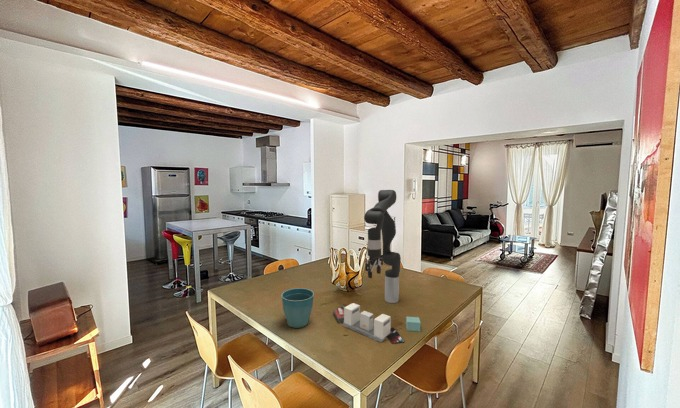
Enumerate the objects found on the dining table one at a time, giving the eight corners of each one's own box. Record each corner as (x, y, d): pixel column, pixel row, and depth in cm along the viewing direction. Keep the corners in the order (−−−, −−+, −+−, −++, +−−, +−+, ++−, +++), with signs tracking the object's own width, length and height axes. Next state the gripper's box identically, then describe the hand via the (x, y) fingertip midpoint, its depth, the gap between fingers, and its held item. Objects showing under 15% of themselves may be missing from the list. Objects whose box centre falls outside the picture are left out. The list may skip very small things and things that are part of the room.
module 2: (382, 329, 153) (382, 313, 153) (390, 333, 150) (390, 316, 149) (373, 335, 147) (374, 319, 147) (382, 339, 144) (382, 322, 143)
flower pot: (299, 312, 176) (298, 285, 174) (320, 321, 164) (320, 293, 163) (275, 323, 162) (274, 294, 160) (297, 335, 150) (296, 303, 149)
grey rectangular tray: (353, 319, 167) (353, 316, 167) (391, 334, 151) (391, 331, 151) (342, 325, 160) (342, 323, 159) (381, 342, 143) (381, 339, 143)
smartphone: (393, 327, 158) (405, 341, 143) (393, 328, 158) (405, 343, 144) (381, 328, 157) (392, 343, 142) (381, 329, 157) (392, 345, 142)
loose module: (364, 324, 159) (364, 310, 158) (373, 328, 155) (373, 314, 154) (359, 327, 156) (359, 313, 155) (369, 331, 152) (369, 316, 151)
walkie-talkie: (352, 322, 164) (343, 306, 183) (352, 315, 163) (343, 300, 182) (338, 325, 161) (330, 308, 181) (338, 317, 161) (330, 301, 180)
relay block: (405, 325, 161) (418, 325, 160) (407, 330, 155) (420, 331, 154) (406, 316, 160) (418, 317, 160) (407, 321, 154) (420, 322, 154)
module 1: (352, 317, 166) (352, 302, 165) (359, 320, 163) (359, 305, 162) (343, 323, 160) (344, 307, 159) (351, 326, 157) (351, 310, 156)
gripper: (375, 243, 165) (375, 270, 166) (361, 248, 154) (361, 277, 156) (387, 245, 160) (387, 273, 162) (372, 251, 149) (373, 281, 151)
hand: (374, 275), depth 159 cm, fingers open, 8 cm apart
